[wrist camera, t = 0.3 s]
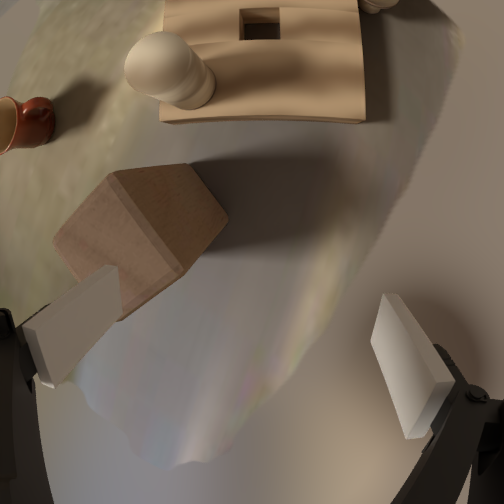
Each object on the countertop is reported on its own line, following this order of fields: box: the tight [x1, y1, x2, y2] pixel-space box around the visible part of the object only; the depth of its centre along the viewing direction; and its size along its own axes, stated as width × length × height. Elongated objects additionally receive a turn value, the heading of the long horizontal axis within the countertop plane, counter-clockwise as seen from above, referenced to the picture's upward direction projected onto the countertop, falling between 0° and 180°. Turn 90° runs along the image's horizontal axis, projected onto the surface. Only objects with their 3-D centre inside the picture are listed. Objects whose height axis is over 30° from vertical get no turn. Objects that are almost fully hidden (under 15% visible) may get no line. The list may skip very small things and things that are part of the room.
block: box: [53, 163, 229, 322], centre depth 32 cm, size 10×10×20 cm
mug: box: [0, 97, 55, 155], centre depth 35 cm, size 12×9×10 cm
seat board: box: [124, 0, 366, 125], centre depth 26 cm, size 24×24×16 cm
